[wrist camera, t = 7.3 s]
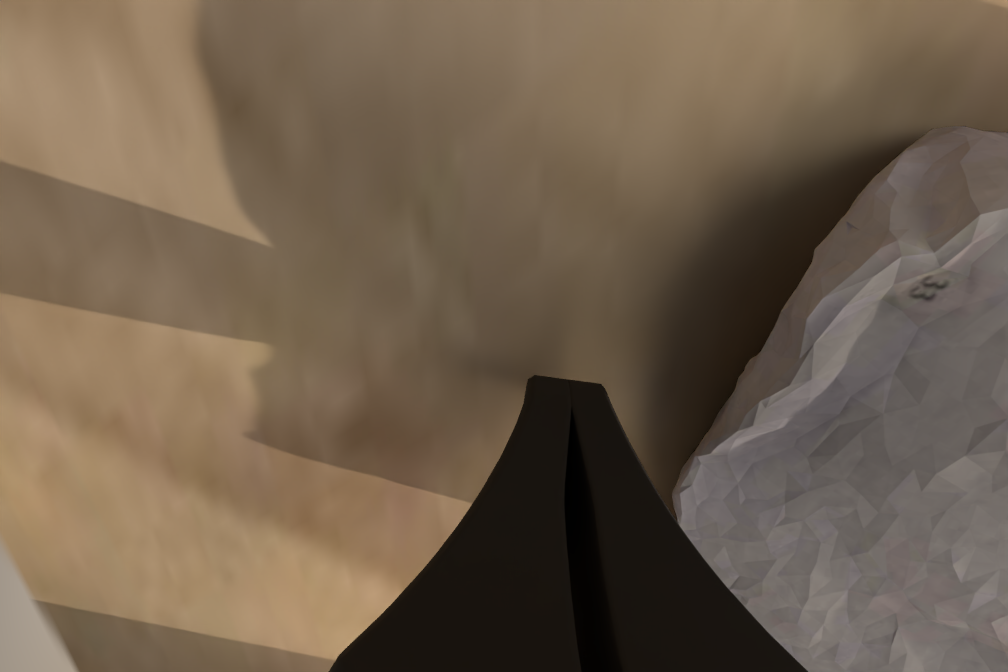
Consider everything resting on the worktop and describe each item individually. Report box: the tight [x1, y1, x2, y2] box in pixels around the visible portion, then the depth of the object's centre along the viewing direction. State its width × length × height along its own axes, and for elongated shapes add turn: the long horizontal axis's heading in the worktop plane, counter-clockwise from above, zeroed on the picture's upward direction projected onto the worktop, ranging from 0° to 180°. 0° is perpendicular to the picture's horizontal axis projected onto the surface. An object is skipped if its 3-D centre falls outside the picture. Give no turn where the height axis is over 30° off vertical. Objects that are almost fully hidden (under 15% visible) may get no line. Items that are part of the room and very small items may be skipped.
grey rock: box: [672, 126, 1008, 672], centre depth 12 cm, size 12×5×10 cm
